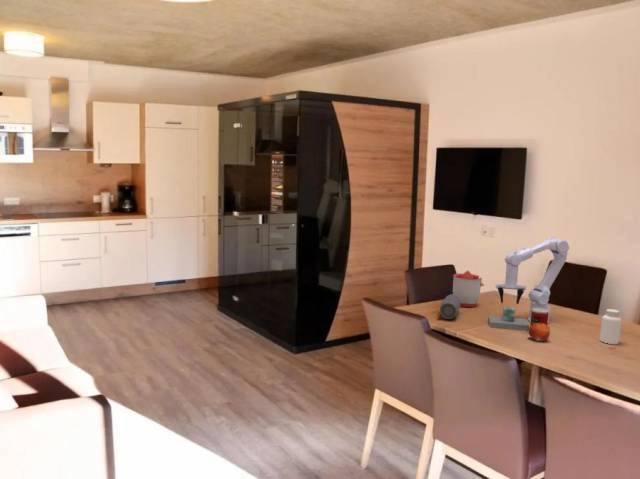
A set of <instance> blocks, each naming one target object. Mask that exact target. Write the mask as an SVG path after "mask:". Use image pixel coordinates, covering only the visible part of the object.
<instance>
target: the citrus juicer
mask: <svg viewBox="0 0 640 479" xmlns="http://www.w3.org/2000/svg"><path fill="white" fill-rule="evenodd" d="M482 279H483V278H482V277H480V276H479V275H477V274H472V273H471V272H470V271H469V270H466V271H465V272H464V273H454V274H453V282H452V294H454V295H457V296H458V297H459V299H460V302H461V303H460V307H462V308H475V307H476V306H477V304H479V299H480V295H481V287H484V286H485V284H484V283H483V282H482Z"/></svg>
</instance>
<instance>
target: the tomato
mask: <svg viewBox="0 0 640 479" xmlns="http://www.w3.org/2000/svg"><path fill="white" fill-rule="evenodd" d="M550 334H551V329H550V327H549V325H546V324H544V323H534V324H532V325H531V326H530V325H529V331H528V335H529V336H530V337H531V339H533V340H534V341H537V342H544V341H547V340H548V339H549V337H550Z"/></svg>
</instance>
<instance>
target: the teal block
mask: <svg viewBox="0 0 640 479" xmlns="http://www.w3.org/2000/svg"><path fill="white" fill-rule="evenodd" d="M515 314H516V309H515V308H514V307H510V306H509V307H507V306H503V308H502V316H501V317H502V319H503V321H507V322H514V318H516V317H515Z"/></svg>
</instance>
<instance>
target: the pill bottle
mask: <svg viewBox="0 0 640 479" xmlns="http://www.w3.org/2000/svg"><path fill="white" fill-rule="evenodd" d="M622 323H623V322H622V318H621V317H620V311H619V310H617V309H613V308H612V309H611V308H607V309H606V310H605V314H604V315H603V316H602V318H601V325H600V326H601V327H600V335H599V341H600V342H601V343H603V342H604V344H607V343H608V344H607V345H619V343H620V339H621V338H620V337H621V329H622Z"/></svg>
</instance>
